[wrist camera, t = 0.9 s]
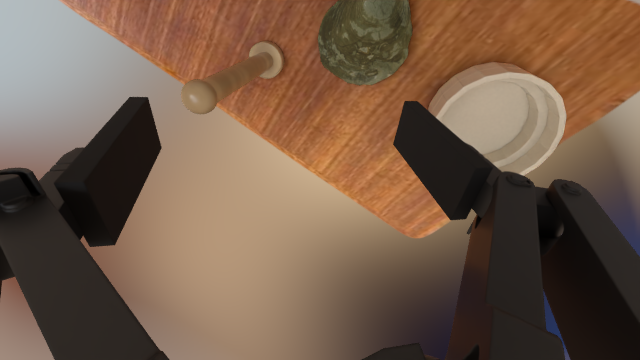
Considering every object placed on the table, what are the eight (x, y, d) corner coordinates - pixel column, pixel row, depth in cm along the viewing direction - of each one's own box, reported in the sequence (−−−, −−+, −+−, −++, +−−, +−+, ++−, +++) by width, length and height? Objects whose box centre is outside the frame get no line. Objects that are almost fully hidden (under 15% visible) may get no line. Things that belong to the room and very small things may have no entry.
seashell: (311, 77, 37) (322, 24, 27) (319, 25, 38) (332, -44, 28) (388, 92, 38) (426, 47, 28) (394, 41, 39) (431, -19, 29)
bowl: (562, 67, 33) (594, 81, 28) (512, 168, 40) (530, 193, 35) (441, 55, 34) (451, 65, 29) (414, 154, 42) (417, 176, 37)
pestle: (284, 42, 37) (212, 76, 22) (284, 78, 39) (219, 131, 24) (251, 39, 37) (158, 70, 22) (253, 74, 40) (170, 124, 25)
